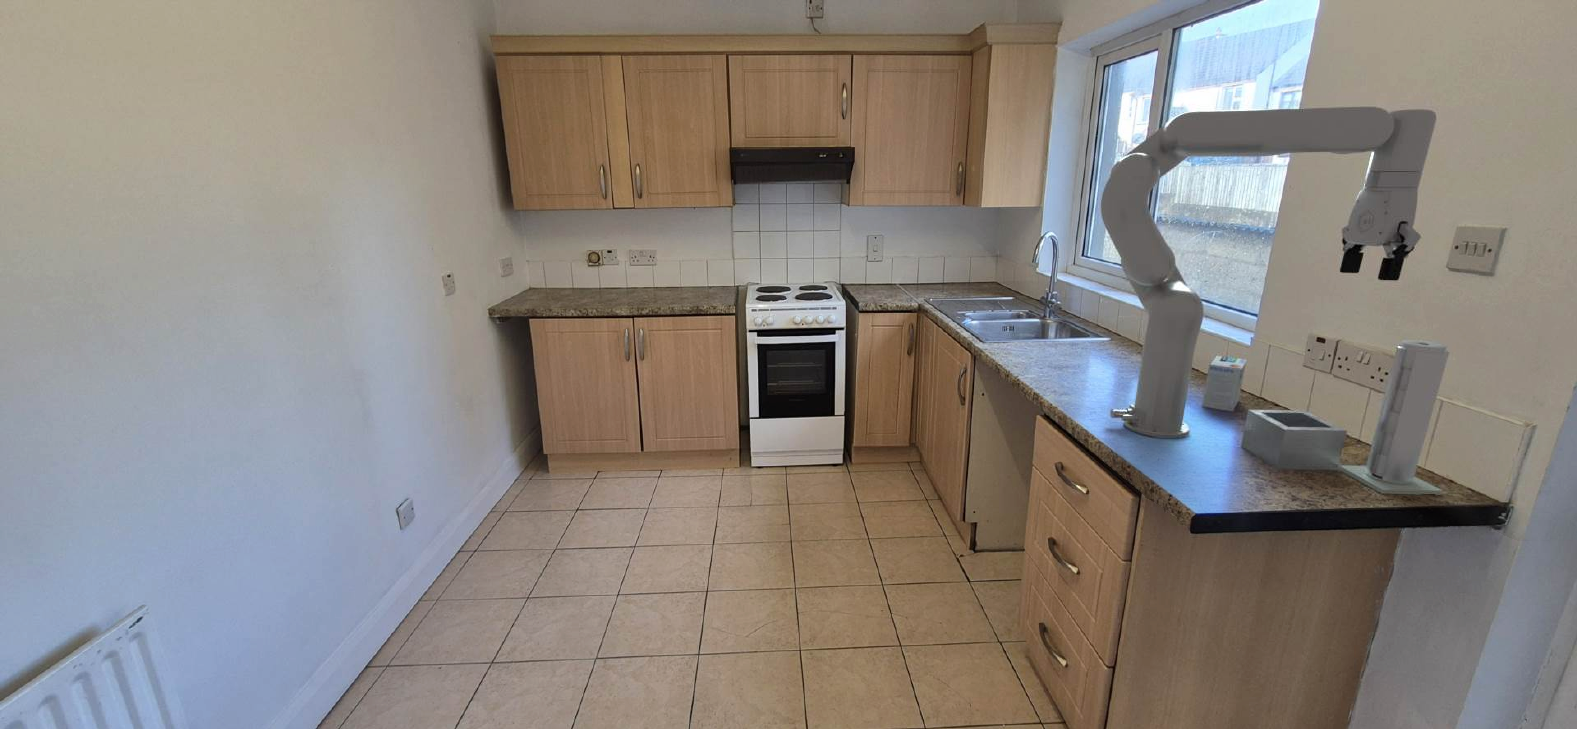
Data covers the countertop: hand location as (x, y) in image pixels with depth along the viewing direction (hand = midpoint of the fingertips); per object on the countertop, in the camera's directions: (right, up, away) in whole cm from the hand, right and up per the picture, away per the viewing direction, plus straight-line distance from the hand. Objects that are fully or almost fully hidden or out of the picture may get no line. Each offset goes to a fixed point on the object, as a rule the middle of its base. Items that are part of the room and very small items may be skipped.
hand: (1367, 276), depth 123 cm
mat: (-1, -38, -5) cm, 38 cm away
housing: (-12, -35, +5) cm, 37 cm away
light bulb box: (-4, -27, +36) cm, 45 cm away
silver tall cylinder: (-1, -37, -5) cm, 38 cm away
